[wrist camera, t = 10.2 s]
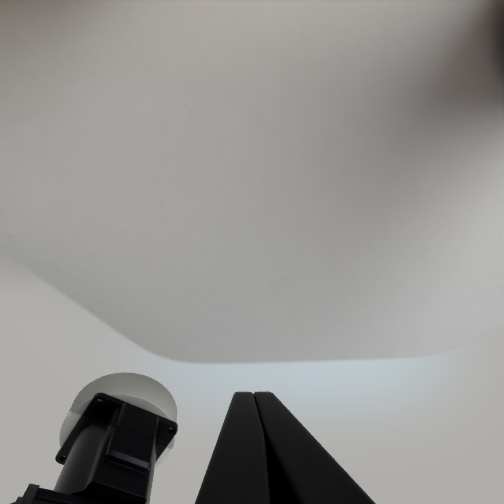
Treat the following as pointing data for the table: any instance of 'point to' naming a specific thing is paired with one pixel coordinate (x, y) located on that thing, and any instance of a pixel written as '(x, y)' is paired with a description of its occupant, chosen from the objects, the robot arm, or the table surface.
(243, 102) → the table surface
